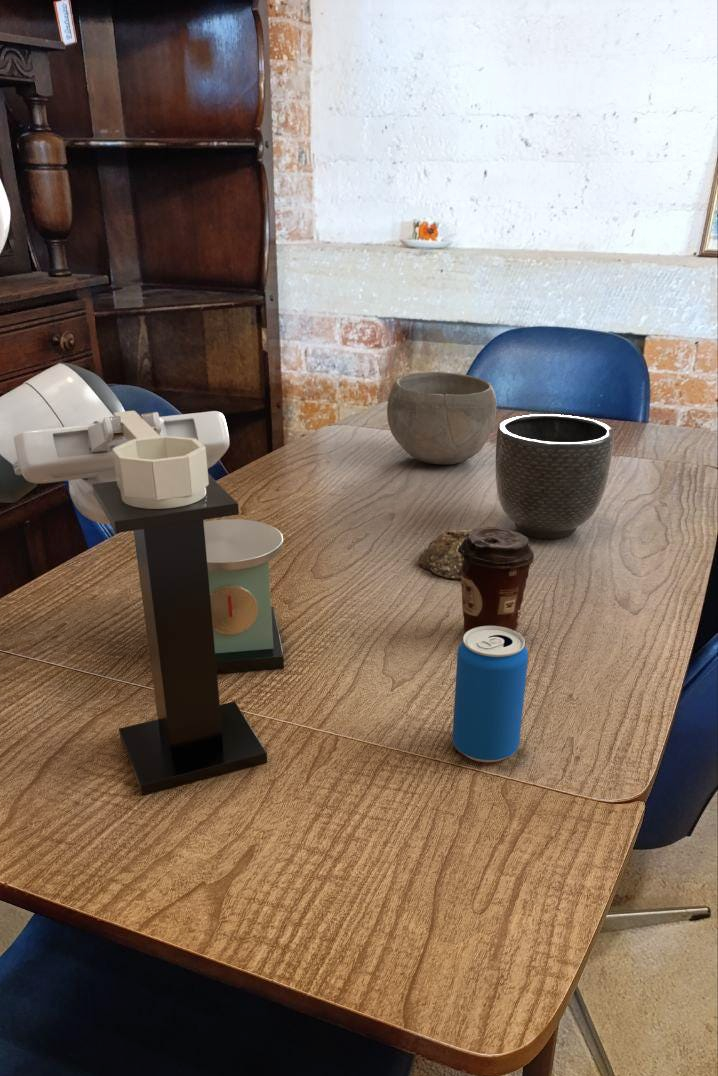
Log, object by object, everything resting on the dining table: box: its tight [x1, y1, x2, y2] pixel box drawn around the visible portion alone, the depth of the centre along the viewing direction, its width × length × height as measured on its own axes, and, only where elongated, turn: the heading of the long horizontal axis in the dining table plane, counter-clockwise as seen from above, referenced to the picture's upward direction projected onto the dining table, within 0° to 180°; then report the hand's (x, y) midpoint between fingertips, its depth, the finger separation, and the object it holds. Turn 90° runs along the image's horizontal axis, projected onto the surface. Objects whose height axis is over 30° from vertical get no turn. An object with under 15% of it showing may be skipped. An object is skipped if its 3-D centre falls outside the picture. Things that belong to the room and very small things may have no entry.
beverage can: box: [451, 626, 529, 763], centre depth 83 cm, size 6×6×12 cm
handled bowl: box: [113, 410, 209, 509], centre depth 76 cm, size 17×7×4 cm, turn 25°
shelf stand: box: [92, 473, 268, 796], centre depth 79 cm, size 10×12×26 cm
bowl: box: [386, 371, 498, 465], centre depth 168 cm, size 21×21×15 cm
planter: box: [495, 414, 616, 540], centre depth 134 cm, size 17×17×16 cm
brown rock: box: [417, 529, 472, 581], centre depth 124 cm, size 13×12×5 cm
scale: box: [204, 518, 285, 675], centre depth 101 cm, size 13×13×14 cm
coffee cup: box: [458, 526, 535, 636], centre depth 103 cm, size 9×8×13 cm
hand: (133, 423), depth 79 cm, fingers closed on handled bowl, 2 cm apart
